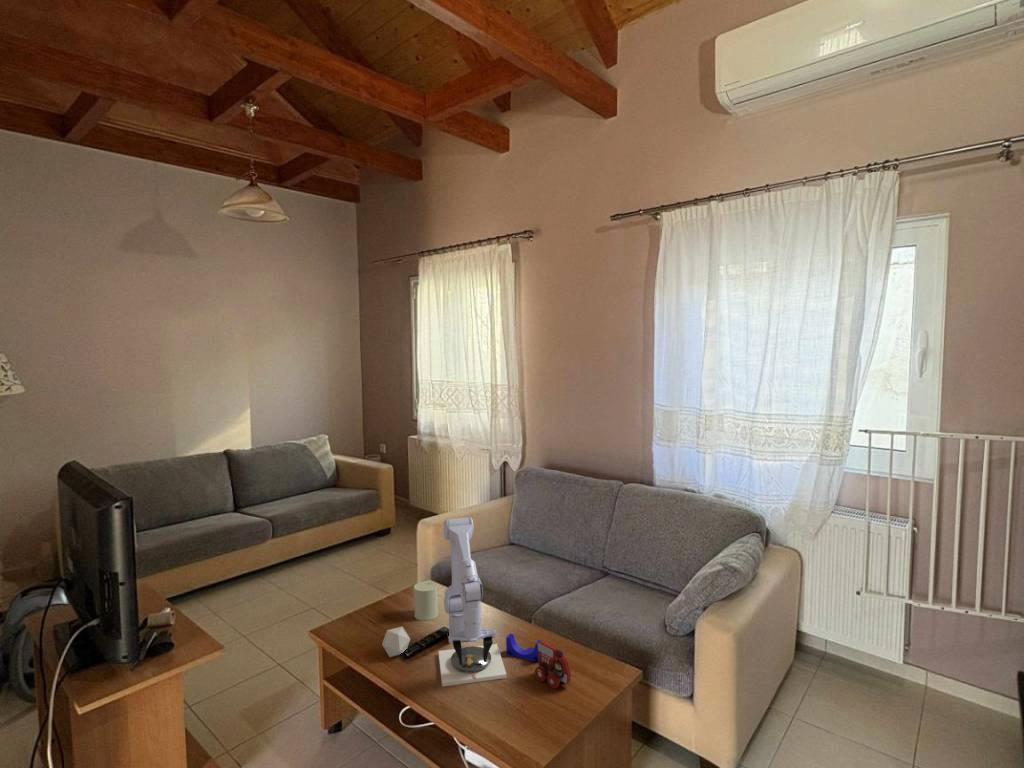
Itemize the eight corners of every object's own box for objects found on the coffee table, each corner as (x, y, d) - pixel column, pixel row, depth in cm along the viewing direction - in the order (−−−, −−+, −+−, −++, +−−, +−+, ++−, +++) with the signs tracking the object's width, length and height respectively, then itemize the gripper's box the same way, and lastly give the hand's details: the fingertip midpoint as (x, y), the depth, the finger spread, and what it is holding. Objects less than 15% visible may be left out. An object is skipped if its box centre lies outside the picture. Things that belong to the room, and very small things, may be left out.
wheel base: (438, 654, 179) (438, 649, 179) (496, 647, 183) (496, 642, 183) (442, 687, 161) (442, 681, 161) (506, 678, 165) (506, 673, 165)
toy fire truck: (561, 694, 157) (560, 659, 157) (531, 676, 166) (530, 644, 166) (576, 683, 162) (575, 650, 162) (546, 667, 171) (545, 635, 171)
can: (443, 612, 208) (442, 582, 208) (427, 622, 201) (426, 591, 200) (425, 607, 213) (424, 578, 213) (409, 616, 206) (408, 586, 205)
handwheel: (454, 648, 179) (454, 637, 179) (492, 648, 178) (492, 637, 178) (448, 671, 166) (447, 658, 166) (489, 671, 165) (489, 659, 165)
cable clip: (544, 655, 178) (544, 638, 177) (539, 663, 174) (539, 645, 173) (511, 648, 183) (511, 631, 182) (506, 655, 179) (506, 637, 178)
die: (407, 645, 186) (389, 623, 186) (419, 641, 181) (401, 618, 180) (390, 665, 180) (372, 642, 180) (403, 661, 174) (384, 637, 174)
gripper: (449, 628, 161) (450, 672, 162) (496, 623, 164) (497, 666, 165) (448, 617, 168) (448, 659, 169) (493, 612, 171) (493, 653, 172)
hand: (472, 661), depth 167 cm, fingers open, 7 cm apart
